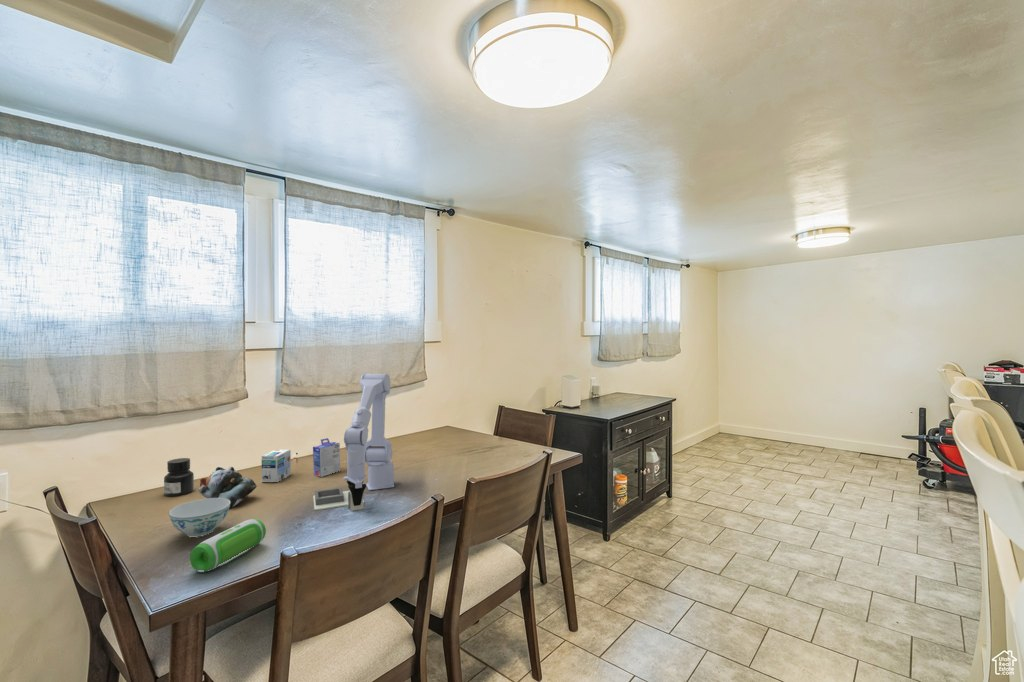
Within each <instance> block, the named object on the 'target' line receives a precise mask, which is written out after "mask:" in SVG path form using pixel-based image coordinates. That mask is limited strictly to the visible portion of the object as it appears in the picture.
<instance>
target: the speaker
mask: <svg viewBox="0 0 1024 682" xmlns="http://www.w3.org/2000/svg"><path fill="white" fill-rule="evenodd" d="M266 533H267V529H266V526H265V524H264V522H263V521H262V520H260V519H258V518H252V519H251V518H250V519H247V520H244V521H242V522H240V523H238V524H236V525H234V526H232V527H230V528H228V529H225V530H224V531H221V532H220V533H217V534H215V535H214V536H211V537H210V538H207V539H205V540H203V541H202V542H200V543H199V544H198V545H196V546H195V547H194V548H193V549H192V550H191V552H190V555H189V562H190V565H191V566H192V568H193V569H194V570H195V569H196V570H204V571H207V572H209V571H208V570H210V569H213V568H215V567H217V566H218V565H219V564H221V563H223V562H225V561H227V560H229V559H231V558H232V557H234V556H236V555H238V554H239V553H241V552H243V551H245V550H247V549H249V548H251V547H253V546H254V547H256V546H257V545H259V544H260V543H261V542H262V541H263V540H264V538H265V537H266ZM254 547H253V548H254ZM251 549H252V548H251ZM215 569H216V568H215ZM196 570H195V571H196ZM213 570H214V569H213Z"/></svg>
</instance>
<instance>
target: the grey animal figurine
mask: <svg viewBox="0 0 1024 682" xmlns="http://www.w3.org/2000/svg"><path fill="white" fill-rule="evenodd" d="M199 481H200V482H199V484H200V485H199V488H198V491H199V493H200V495H202V496H203V497H204V499H207V498H225V499H228V500H230V507H229V508H231V509H232V508H234V507H236V505H238V504H239V503H241V502H242V501H243V500H244V499H245V498H246V497H247V496H249V495H250V494H251V493H253V491H255V490H256V488H257V487H258V485H257V484H256V482H255V481H254V480H253V479H251V478H249V477H243V475H242V474H241V473H240V472H239V471H237V470H235V468H234V467H233V466H229V467H228V468H227V469H225V468H223V467H219V466H218V467H216V468H215V470H214V471H213V472H212V473H210V475H209V476H208V477H202V478H201V479H200V480H199Z"/></svg>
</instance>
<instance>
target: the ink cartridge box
mask: <svg viewBox="0 0 1024 682" xmlns="http://www.w3.org/2000/svg"><path fill="white" fill-rule="evenodd" d="M324 441H325V442H324ZM320 443H321V444H319V445H315V446H313V447H312V456H313V457H312V458H313V461H312V463H313V476H315V477H318V476H319V477H318V478H322V477H326V476H329V475H332V473H333V474H335V472H336V473H338V471H339V472H341V444H340V443H339V442H336V441H335V442H334V441H331V442H330V439H329V438H328V437H326V438H322V439H320Z"/></svg>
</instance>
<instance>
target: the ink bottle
mask: <svg viewBox="0 0 1024 682" xmlns="http://www.w3.org/2000/svg"><path fill="white" fill-rule="evenodd" d="M166 469H167V472H168V473H167V474H166V475H165V476H164V477H163V494H164V496H167V497H177V496H183V495H186V494H189V493H192V492H193V491H194V489H195V488H194V487H195V485H194V484H195V481H194V480H195V479H194V478H195V476H194V475H195V473H194V472H193V471H192V470H190V469H191V459H190V458H188V457H183V458H182V457H180V458H174V459H170V460H168V461H167V467H166Z"/></svg>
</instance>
